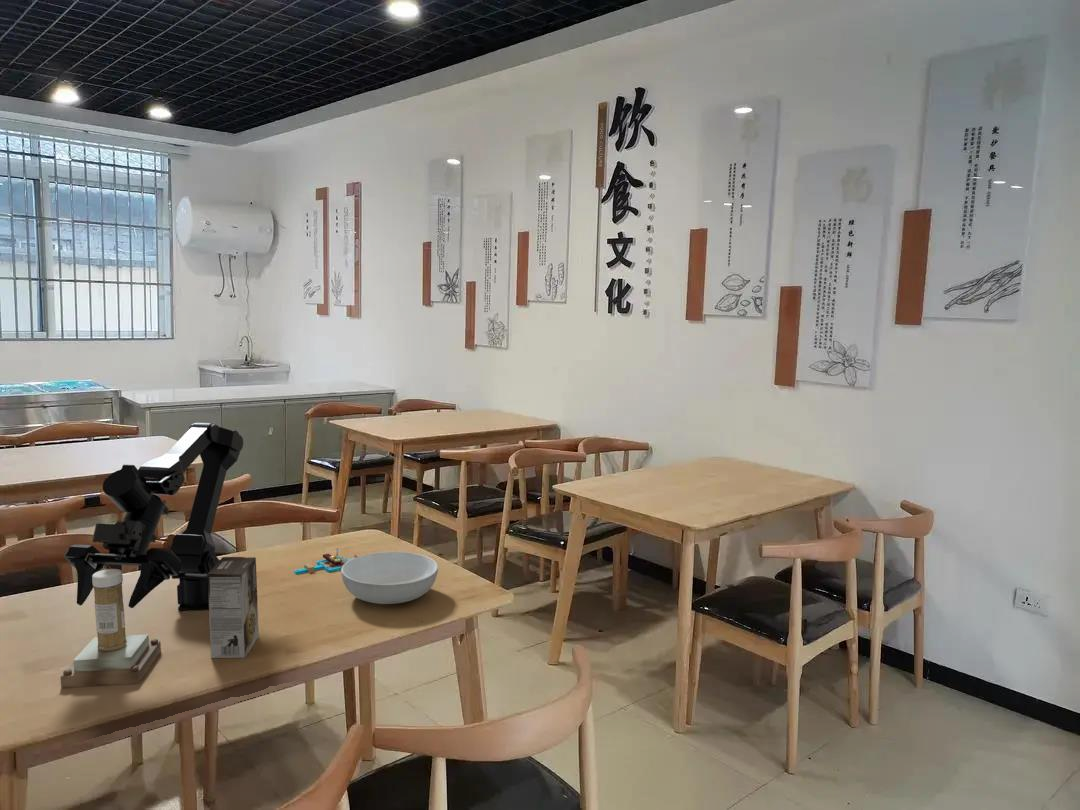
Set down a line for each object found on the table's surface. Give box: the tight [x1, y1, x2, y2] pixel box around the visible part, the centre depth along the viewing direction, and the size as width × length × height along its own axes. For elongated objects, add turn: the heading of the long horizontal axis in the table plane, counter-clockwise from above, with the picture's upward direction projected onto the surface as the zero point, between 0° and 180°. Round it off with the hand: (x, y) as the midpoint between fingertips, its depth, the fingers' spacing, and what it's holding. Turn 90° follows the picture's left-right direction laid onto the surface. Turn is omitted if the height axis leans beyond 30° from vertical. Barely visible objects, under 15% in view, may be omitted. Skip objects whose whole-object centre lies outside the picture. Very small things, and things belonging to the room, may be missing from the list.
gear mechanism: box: [293, 547, 364, 575], centre depth 189 cm, size 20×5×9 cm
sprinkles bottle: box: [92, 568, 127, 651], centre depth 134 cm, size 5×5×13 cm
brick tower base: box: [59, 634, 162, 689], centre depth 135 cm, size 12×12×4 cm
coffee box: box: [207, 556, 260, 659], centre depth 143 cm, size 9×6×16 cm
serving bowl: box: [340, 551, 439, 605], centre depth 170 cm, size 21×21×7 cm
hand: (104, 605), depth 132 cm, fingers open, 9 cm apart
